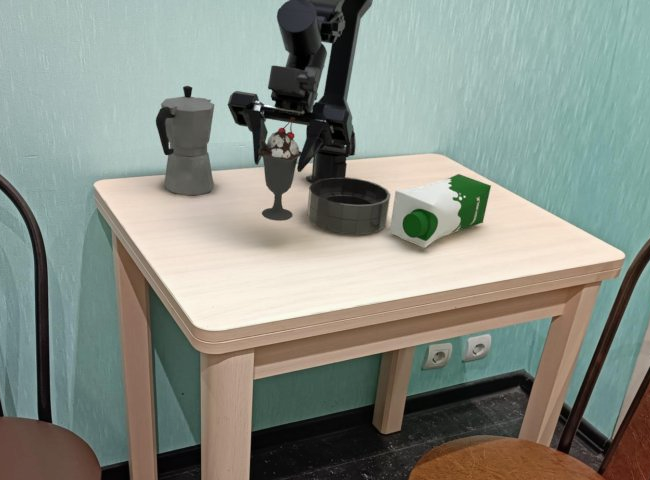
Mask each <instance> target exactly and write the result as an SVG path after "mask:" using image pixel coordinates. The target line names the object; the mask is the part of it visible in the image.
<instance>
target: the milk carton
mask: <svg viewBox="0 0 650 480" xmlns="http://www.w3.org/2000/svg"><path fill="white" fill-rule="evenodd" d="M491 187H492V185H491V184H488V183H485V182H482V181H480V180H476V179H474V178H471V177H468V176H465V175H463V174H460V173H458V174H455V175H453V176H450V177H449V178H446V179H441V180H439V181H435V182H432V183H428V184H425V185H422V186H418V187H411V188H404V189H403V188H402V189H396V190H395V191H394V199H393V205H392V213H391V219H390V224H389V225H390V227H389V233H390V234H392V235H394V236H397V237H399V238H400V239H401V240H404V241H406V242H409V243H412V244H414V245H416V246H419V247H421V248H423V249H425V248H427V247H428V246H429V245H430V244H432V243H434V241H436V240H439V239H441V238H444V237H446V236H448V235H452V234H454V233H457V232H459V231H462V230H464V229H465V230H466V229H468V228H471V227H474V226H477V225H480V224H483V223H484V219H485V215H486V211H487V206H488V201H489V196H490V192H491Z"/></svg>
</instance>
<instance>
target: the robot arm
mask: <svg viewBox="0 0 650 480" xmlns="http://www.w3.org/2000/svg"><path fill="white" fill-rule="evenodd" d="M373 1H374V0H287V1H286V2H284V3H283V4H282V5H281V6H280V7H279V8H278V10H277V13H276V20H277V24H278V28H279V32H280V35H281V40H282V43H283V47H284V50H285V51H286V52H287V53H288V56H287V60H286V63H285V66H282V65H271V67H270V71H269V78H268V84H267V89H268V90H270V91H271V93H270V98H271V100H272V101H273V102H274V105H270V104H264V103H263V102H261V101H260V99H259V96H258V94H257V93H254V92H253V93H252V92H246V91H241V90H235V91H234V92H232V93H231V94H230V96H229V99H228V102H227V107H228V110H229V112H230V114H231V116H232V119H233V121H234V123H235V125H238V126H241V127H247V128H248V131H249V132H251V134H252V146H253V147H252V148H253V162H254V164H255V165H256V166H258V165H259V164H260V162H261V159H262V156H259V151H258V150H259V148H260V147H262V144H261V140H262V139H264V141H265V142H266V141H267V138H268V133H269V132H268V129H267V126H266V123H265V122H267V120H272V121H273V120H274V121H277V122H284V123H289V124H291V122H292V119H291V117H294V118H295V120H293V122H292V124H297V125H302V126H306V130H305V132H306V133H305V134H306V137H305V141H304V144H303V147H302V150H301V151H300V152H301V155H300V156H299V157H298V161H297V165H296V166H297V167H296V170H297V172H298V173H301V172H302V171H303V170H304V169H305V168H306V167H307V165H308V164H309V163H310V162H311V161H312V169H311V171H312V172H311V175H307V176H305V180H307V181H309V182H310V183H311V184H312V183H313V182H315V181H317V180H320V179H325V178H334V177H346V175H347V165H348V164H347V158H350V157H354V156H355V155H356V149H357V148H356V147H357V144H356V142H357V141H356V133H355V128H354V125H353V114H352V112H351V109H350V107H349V106H350V105H349V103H348V96H349V91H350V84H351V79H352V74H353V73H352V72H353V66H354V61H355V54H356V49H357V43H358V37H359V31H360V25H361V21H362V18H363V17H364V16H365V14H366V13H367V11H369V10H370V8H371V7H372V5H373ZM323 43H326V44H331V47H330V54H329V60H328V66H327V72H326V79H325V85H324V90H323V95H322V97H320V99H319V100H318V101H317V99H318V95H319V94H318V90H319V86H320V82H321V78H322V74H323V71H324V69H325V64H326V59H327V56H328V51H327V48H326V46H325V45H324V44H323ZM290 119H291V121H290ZM289 121H290V122H289Z"/></svg>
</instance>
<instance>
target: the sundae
mask: <svg viewBox="0 0 650 480" xmlns="http://www.w3.org/2000/svg"><path fill="white" fill-rule="evenodd" d="M291 119H292V122H293V120H295V118H294V117H291ZM291 119H290V121H291ZM290 121H289V122H287V124H286V125H285V126H284V127H280V128H278V129H277V131H275V132H273V133H271V135H270V136H269V137H267V138H268V139H267V142H266V141H264V139H262V140H261V144H262V147H260V148H259V150H258V151H259V156H261V158H262V161H263V170H264V181H265V185H266V187H267V188H268V190H269V191H270V192H272V194H273V195H274V196H273V197H274V198H273V199H274V200H273V205H272V207H269V208H265V209H263V210H262V211H261V216H263V218H265V219H267V220H270V221H277V222H281V221H283V222H284V221H288V220H290V219H292V218H293V216H294V215H293V212H292V211H291V210H289V209H286V208H284V207H283V201H282V200H283V199H282V198H283V195H284V194H285V193H286V192H288V191H289V190H290V189H291V188H292V185H293V182H294V178H295V172H296V168H297V167H296V166H297V164H298V160H299V158H300V155H301V152H302V151H301V150H300V148H299V145H298V143H297V142H296V141H295V140H294V138H295V135H296V134H294V132H293V131H292V125H293V123H292V122H291V123H290ZM289 124H290V127H289V131H288V132H287V130H286V127H288V125H289Z"/></svg>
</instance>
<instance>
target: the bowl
mask: <svg viewBox="0 0 650 480" xmlns="http://www.w3.org/2000/svg"><path fill="white" fill-rule="evenodd" d="M390 203H391V193H390V192H389V190H388V189H387V188H385V187H384V186H382V185H380V184H378V183H375V182H373V181H370V180H367V179H366V180H365V179H362V178H361V179H360V178H356V177H355V178H354V177H346V176H345V177H334V178H325V179H320V180H317V181H315V182H313V183H312V182H311V183H310V186H309V188H308V201H307V209H306V211H307V213H306V215H307V217H308V220H309V221H310V222H311V223H312V224H314V225H315V226H316V227H319V228H322V229H324V230H326V231H331V232H335V233H339V234H347V235H348V234H349V235H361V234H362V235H363V234H364V235H365V234H371V233H376V232H379V231H381V230H382V229H384V228H386V226H387V222H388V217H389V216H388V215H389V209H390Z"/></svg>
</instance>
